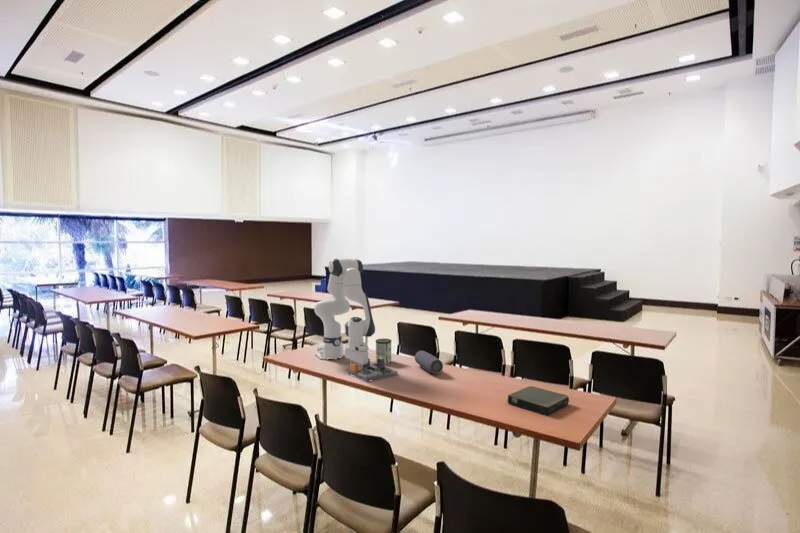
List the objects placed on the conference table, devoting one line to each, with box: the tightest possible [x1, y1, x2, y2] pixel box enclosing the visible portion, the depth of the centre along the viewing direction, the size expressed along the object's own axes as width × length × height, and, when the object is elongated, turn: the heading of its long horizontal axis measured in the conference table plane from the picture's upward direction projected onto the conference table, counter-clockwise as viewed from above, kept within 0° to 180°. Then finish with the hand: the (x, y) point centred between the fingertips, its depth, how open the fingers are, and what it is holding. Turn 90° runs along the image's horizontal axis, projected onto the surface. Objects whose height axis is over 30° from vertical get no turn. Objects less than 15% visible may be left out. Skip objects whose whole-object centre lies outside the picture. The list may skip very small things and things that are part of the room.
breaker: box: [377, 357, 385, 369], centre depth 269 cm, size 3×3×6 cm
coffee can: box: [375, 338, 392, 365], centre depth 290 cm, size 10×10×14 cm
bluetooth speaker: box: [414, 350, 444, 375], centre depth 271 cm, size 23×9×10 cm, turn 22°
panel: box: [346, 362, 398, 382], centre depth 264 cm, size 20×22×3 cm
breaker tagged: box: [362, 357, 371, 369], centre depth 268 cm, size 3×3×6 cm
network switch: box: [507, 385, 570, 417], centre depth 217 cm, size 23×24×5 cm
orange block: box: [349, 361, 363, 372], centre depth 264 cm, size 5×5×4 cm
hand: (356, 368), depth 264 cm, fingers closed on orange block, 5 cm apart
